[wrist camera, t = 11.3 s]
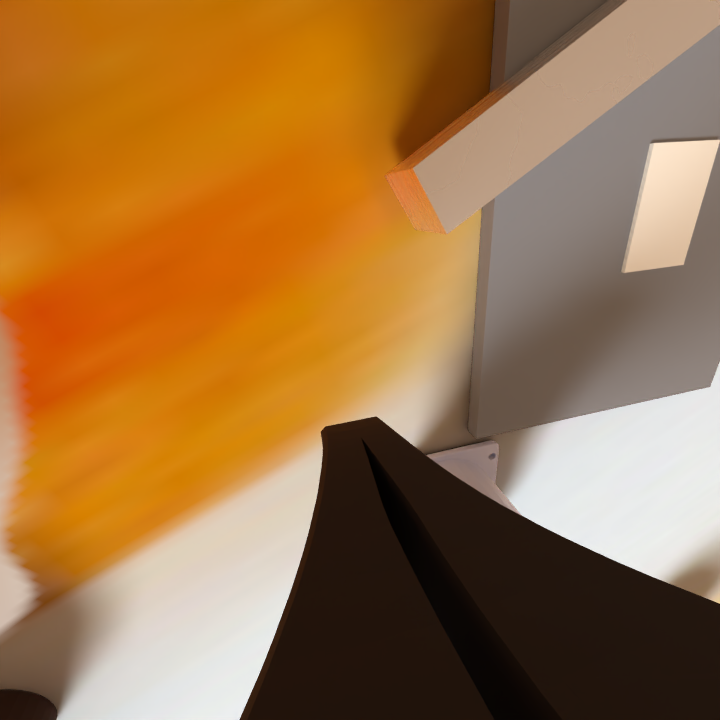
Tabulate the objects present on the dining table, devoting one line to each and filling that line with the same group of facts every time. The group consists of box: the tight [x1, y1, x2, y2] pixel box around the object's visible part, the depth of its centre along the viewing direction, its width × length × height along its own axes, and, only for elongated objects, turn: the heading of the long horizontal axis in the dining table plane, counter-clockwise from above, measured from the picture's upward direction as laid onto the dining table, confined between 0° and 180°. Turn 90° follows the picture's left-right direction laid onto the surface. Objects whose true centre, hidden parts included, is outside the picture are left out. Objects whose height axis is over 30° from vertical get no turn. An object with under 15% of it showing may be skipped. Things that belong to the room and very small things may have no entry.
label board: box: [468, 0, 720, 439], centre depth 19 cm, size 24×18×1 cm
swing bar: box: [385, 0, 720, 234], centre depth 13 cm, size 18×3×3 cm, turn 125°
